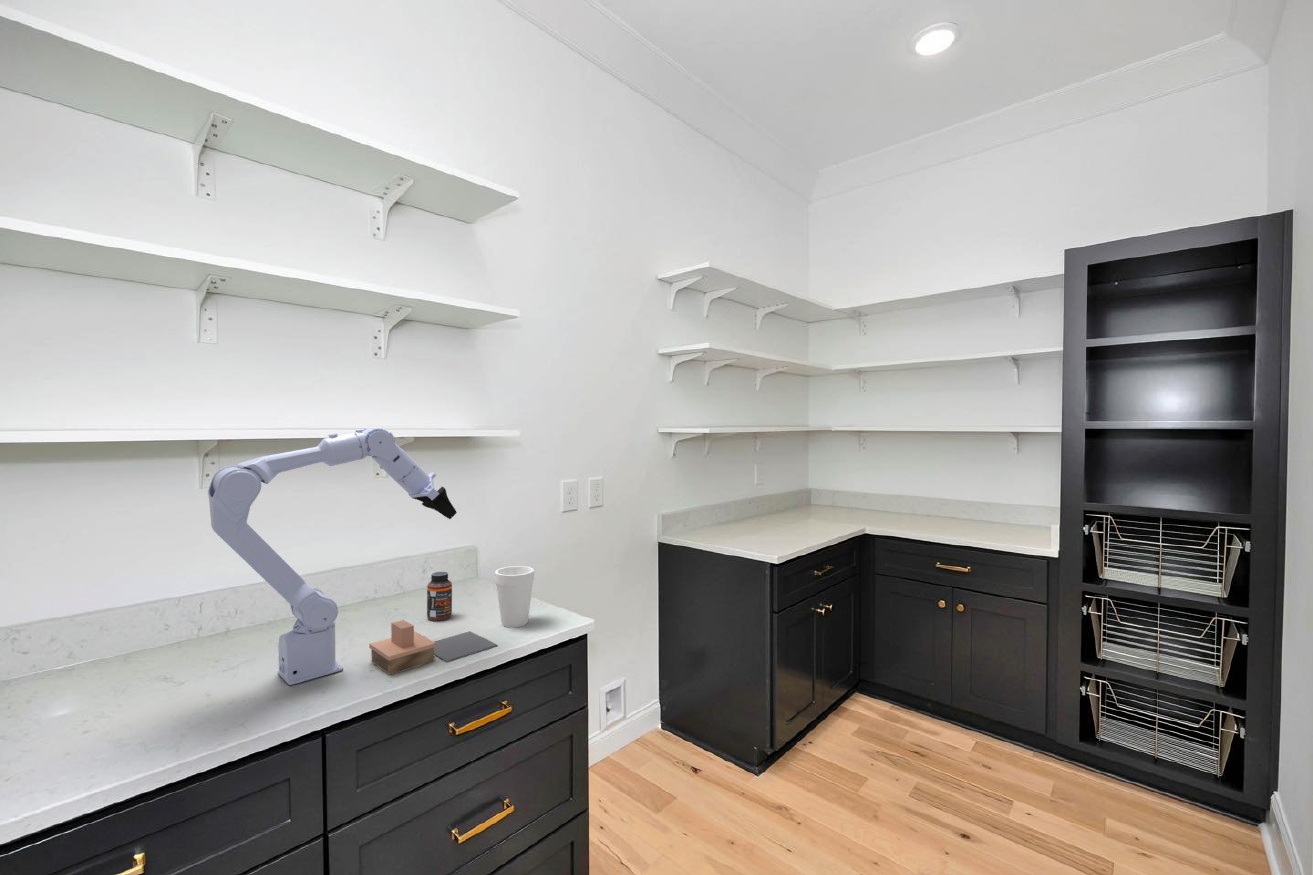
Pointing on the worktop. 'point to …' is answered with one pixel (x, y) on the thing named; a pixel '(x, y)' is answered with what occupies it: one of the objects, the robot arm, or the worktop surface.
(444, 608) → the supplement bottle
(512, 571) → the foam cup
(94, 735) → the worktop surface
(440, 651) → the mat
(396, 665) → the box
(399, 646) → the lid
